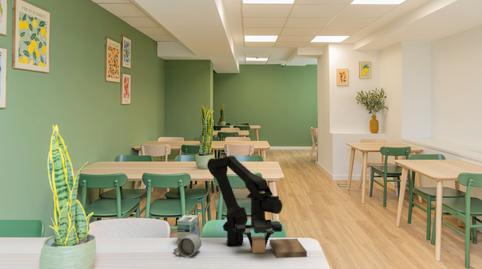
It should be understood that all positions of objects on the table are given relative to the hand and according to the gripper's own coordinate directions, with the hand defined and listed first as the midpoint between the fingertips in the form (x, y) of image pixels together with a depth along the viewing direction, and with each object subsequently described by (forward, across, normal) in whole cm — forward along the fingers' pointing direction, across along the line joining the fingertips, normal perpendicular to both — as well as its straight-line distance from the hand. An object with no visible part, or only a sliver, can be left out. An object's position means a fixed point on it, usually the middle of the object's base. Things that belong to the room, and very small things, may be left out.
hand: (258, 247), depth 149 cm
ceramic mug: (+2, -29, 0) cm, 29 cm away
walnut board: (+1, +12, 0) cm, 12 cm away
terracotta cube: (+1, 0, 0) cm, 1 cm away
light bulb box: (+2, -29, +15) cm, 33 cm away
